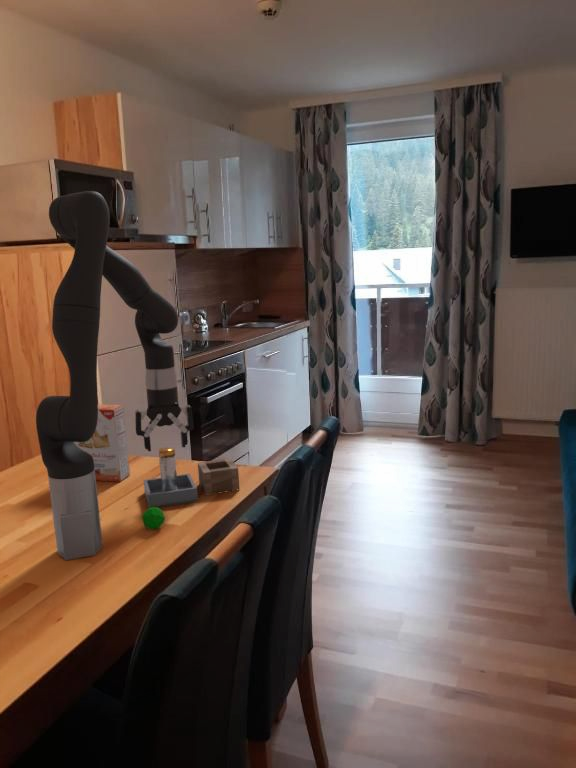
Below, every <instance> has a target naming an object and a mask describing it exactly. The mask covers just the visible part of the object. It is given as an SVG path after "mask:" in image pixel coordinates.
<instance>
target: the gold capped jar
mask: <svg viewBox="0 0 576 768" xmlns="http://www.w3.org/2000/svg"><path fill="white" fill-rule="evenodd" d="M158 458H159V468H160V469H159V470H160V471H159V472H160V478H161V485H162V492H167V491H174V490H178V485H177V475H178V473H177V471H178V470H177V461H176V460H177V459H176V448H175V447H170V446H167V447H162V448H160V449H158Z"/></svg>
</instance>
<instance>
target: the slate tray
mask: <svg viewBox="0 0 576 768" xmlns="http://www.w3.org/2000/svg"><path fill="white" fill-rule="evenodd" d="M177 485H178V490H174V491H167V492H162V485H161V477H156V478H148V479H143V488H144V489H143V490H144V495H145V498H146V502H147V506H148V509H149V508H150V507H157V508H159V509H160V508H162V507H163V508H165V507H170V506H176V505H183V504H184V505H185V504H189V503H190V504H191V503H197V502H196V501H198V502H199V498H198V488H197V486H196V484H195V482H194V480H193V478H192V476H191V474H190V473H183V474H177Z"/></svg>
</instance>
